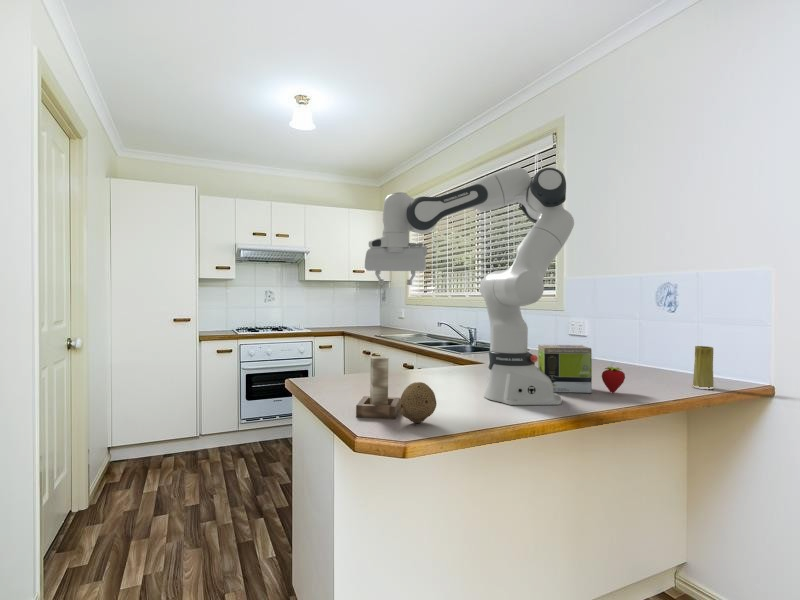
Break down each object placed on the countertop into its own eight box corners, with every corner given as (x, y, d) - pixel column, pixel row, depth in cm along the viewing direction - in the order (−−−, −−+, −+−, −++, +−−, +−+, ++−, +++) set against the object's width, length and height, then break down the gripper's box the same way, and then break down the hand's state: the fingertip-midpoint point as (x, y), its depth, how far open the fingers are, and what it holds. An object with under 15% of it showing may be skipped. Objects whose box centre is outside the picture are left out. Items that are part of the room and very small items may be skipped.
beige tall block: (384, 408, 121) (385, 356, 121) (387, 412, 117) (388, 358, 117) (370, 408, 120) (370, 356, 120) (372, 412, 116) (373, 358, 116)
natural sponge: (444, 425, 107) (445, 384, 107) (412, 431, 103) (413, 387, 103) (423, 416, 115) (424, 377, 115) (393, 421, 111) (393, 380, 111)
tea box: (582, 387, 154) (583, 344, 154) (591, 394, 144) (592, 348, 144) (537, 386, 155) (538, 343, 155) (543, 392, 145) (544, 346, 145)
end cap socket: (399, 408, 123) (400, 397, 123) (395, 418, 113) (395, 406, 113) (363, 407, 124) (363, 396, 124) (356, 417, 114) (356, 405, 114)
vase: (718, 390, 152) (719, 348, 152) (699, 390, 152) (700, 347, 152) (706, 386, 158) (707, 345, 158) (688, 386, 158) (689, 345, 158)
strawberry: (629, 394, 144) (630, 363, 144) (609, 395, 142) (609, 363, 142) (616, 390, 150) (617, 360, 150) (596, 391, 148) (597, 360, 148)
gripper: (427, 243, 150) (427, 285, 150) (367, 243, 153) (367, 284, 153) (426, 241, 144) (426, 285, 144) (363, 241, 146) (363, 284, 147)
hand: (395, 284), depth 148 cm, fingers open, 8 cm apart
